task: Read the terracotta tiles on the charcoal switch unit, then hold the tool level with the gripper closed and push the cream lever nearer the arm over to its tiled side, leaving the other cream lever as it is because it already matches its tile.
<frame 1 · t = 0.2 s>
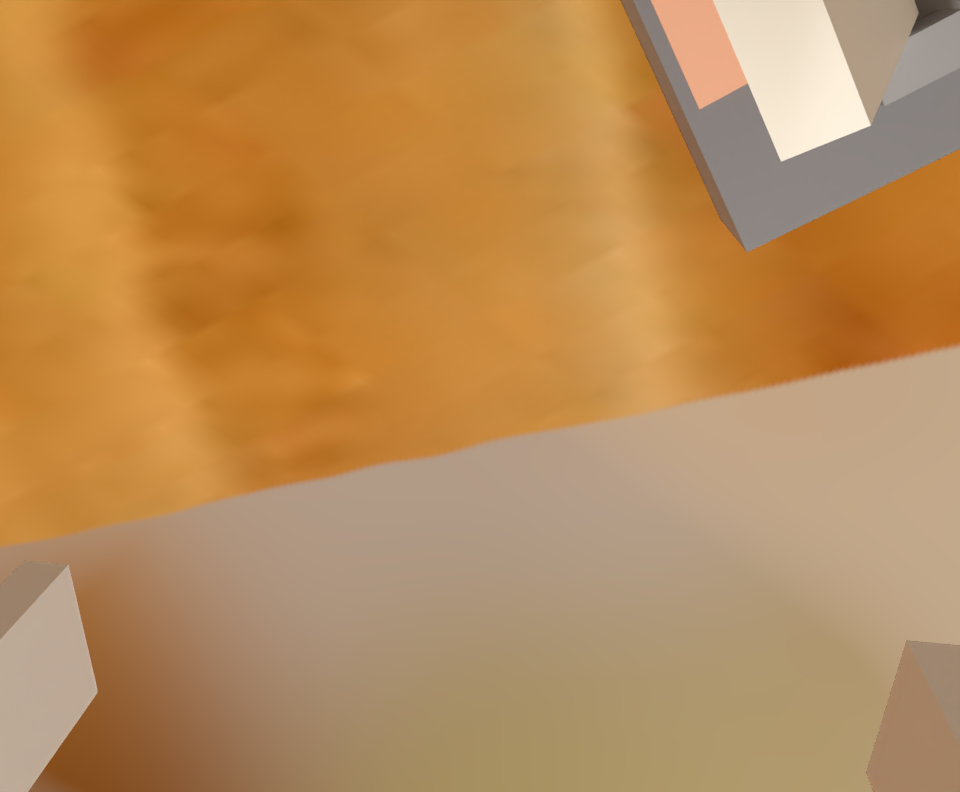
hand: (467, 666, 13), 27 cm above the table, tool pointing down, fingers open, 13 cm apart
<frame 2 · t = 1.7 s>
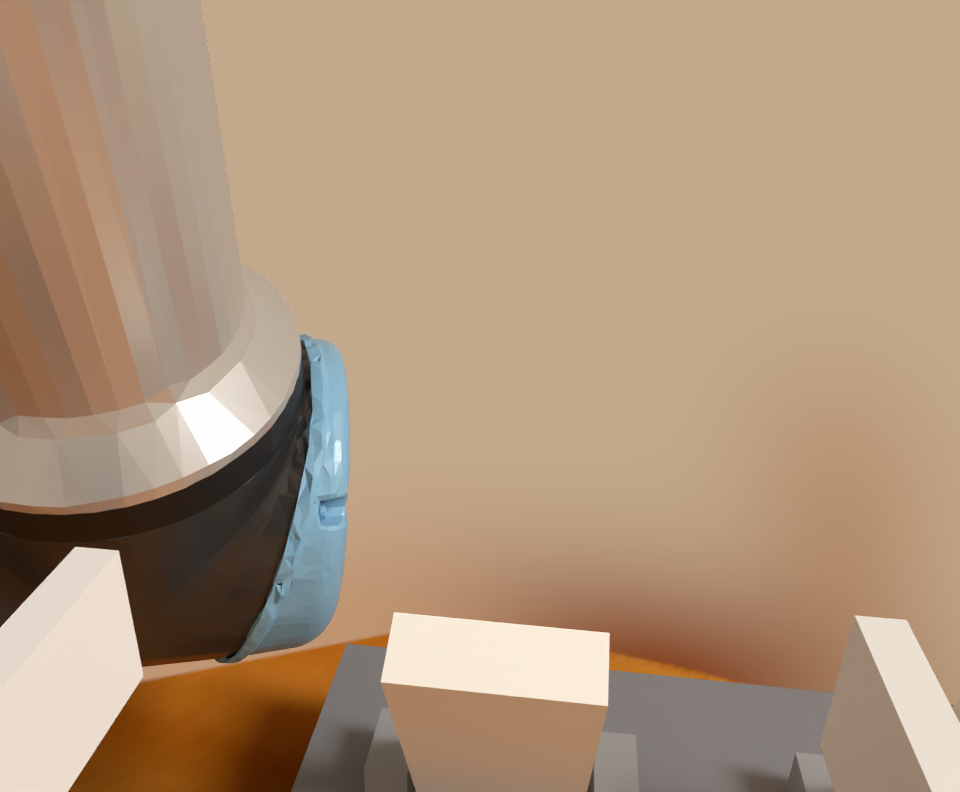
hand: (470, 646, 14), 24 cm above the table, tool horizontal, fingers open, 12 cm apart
lever a: (499, 730, 27), point 12 cm above the table, hinge at -25.0°
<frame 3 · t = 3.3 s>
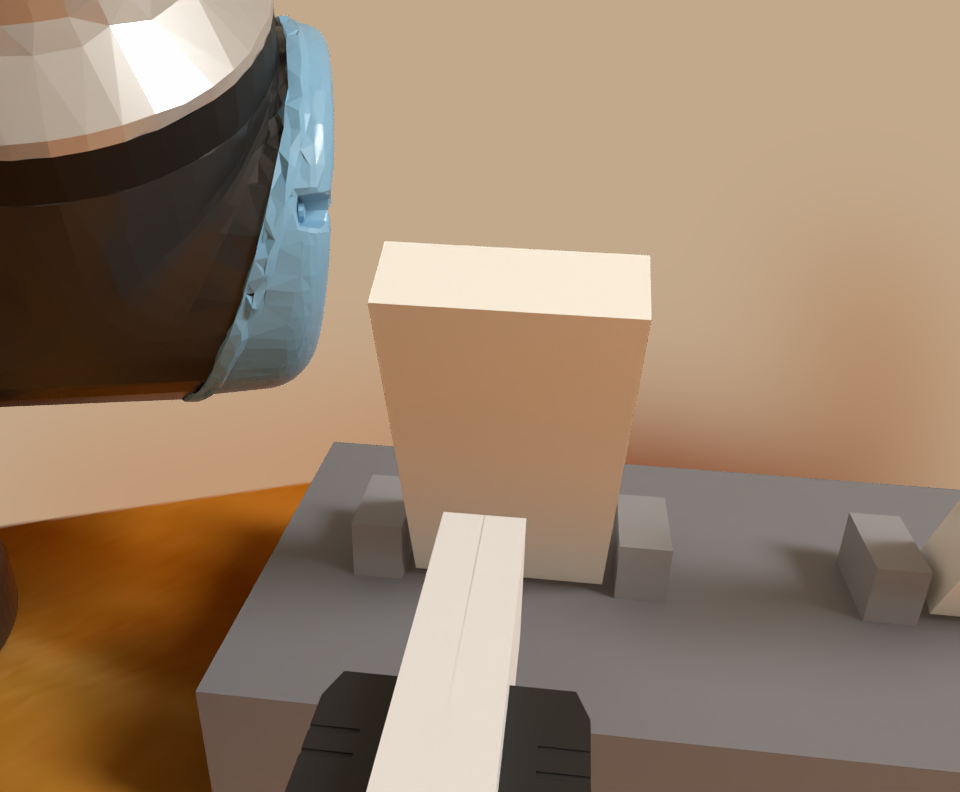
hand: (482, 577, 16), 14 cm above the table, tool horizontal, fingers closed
switch unit: (726, 715, 30), on the table
lever a: (511, 440, 23), point 12 cm above the table, hinge at -25.0°
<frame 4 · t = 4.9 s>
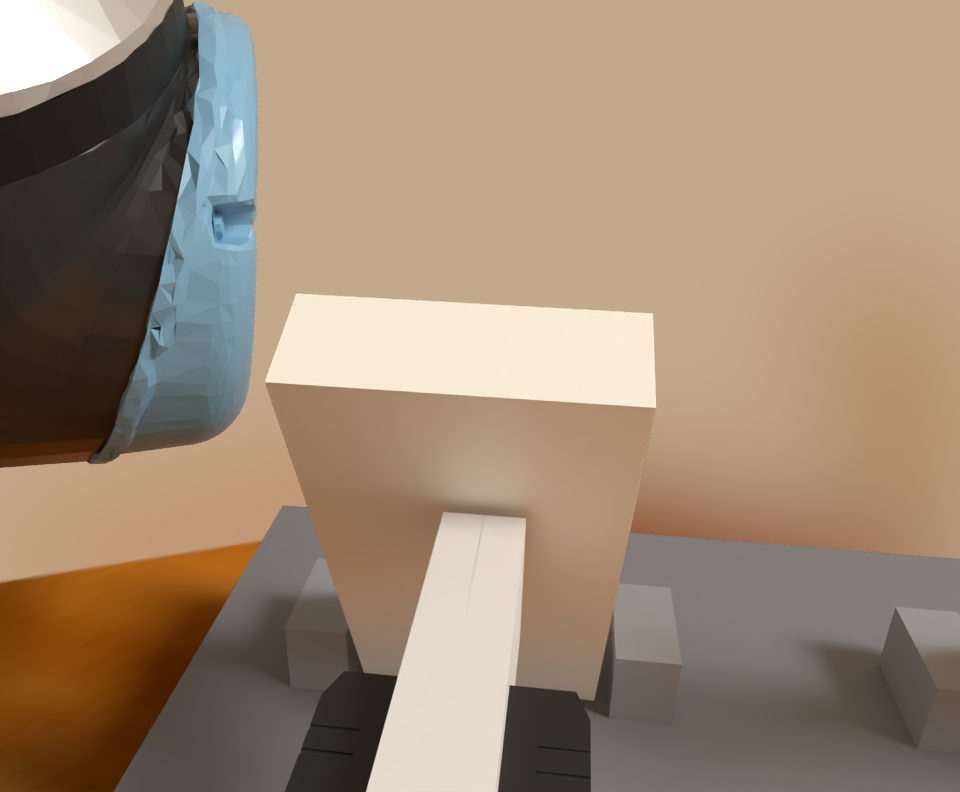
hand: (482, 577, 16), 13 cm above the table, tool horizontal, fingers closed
lever a: (475, 538, 18), point 12 cm above the table, hinge at -24.9°, touching gripper
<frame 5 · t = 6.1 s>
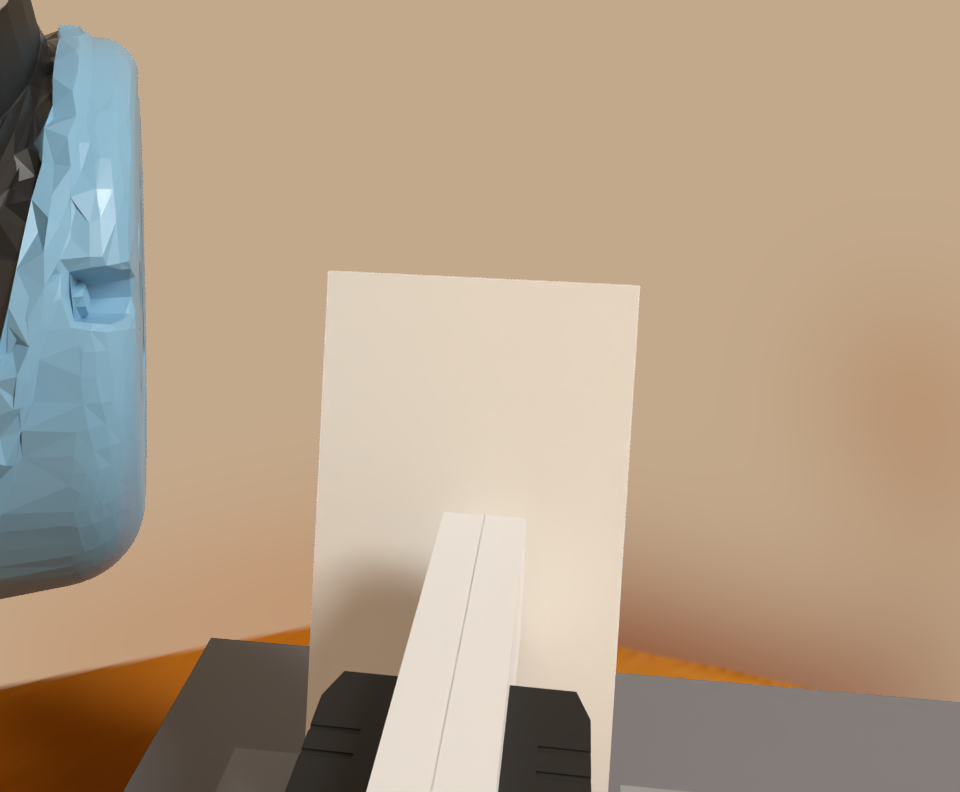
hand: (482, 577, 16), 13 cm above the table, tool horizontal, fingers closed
lever a: (469, 575, 17), point 12 cm above the table, hinge at 22.9°, touching gripper
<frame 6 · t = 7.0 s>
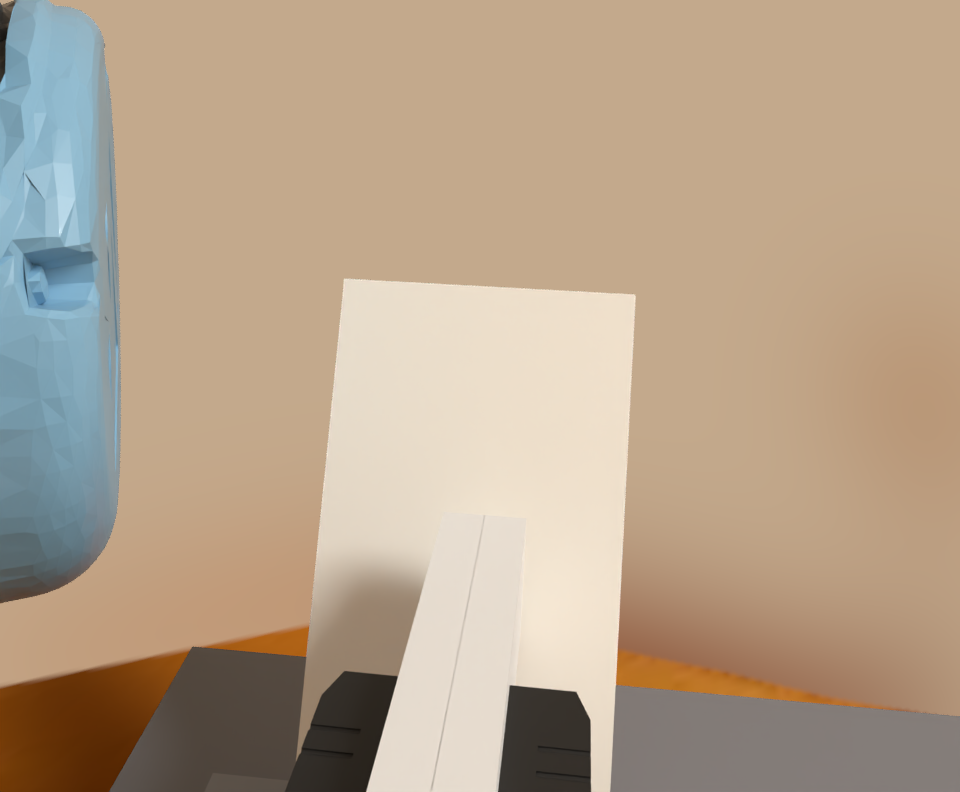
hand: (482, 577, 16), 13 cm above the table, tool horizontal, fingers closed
lever a: (469, 580, 17), point 12 cm above the table, hinge at 34.1°, touching gripper
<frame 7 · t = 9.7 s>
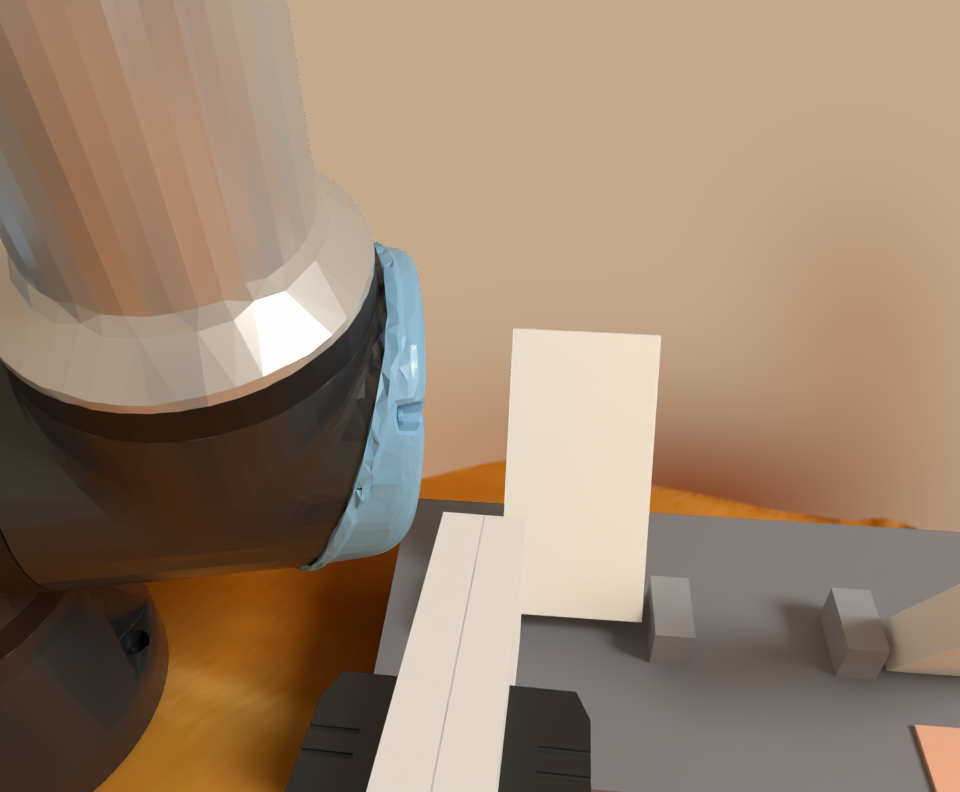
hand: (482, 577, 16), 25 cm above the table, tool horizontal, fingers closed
switch unit: (729, 714, 40), on the table
lever a: (577, 472, 36), point 12 cm above the table, hinge at 34.2°
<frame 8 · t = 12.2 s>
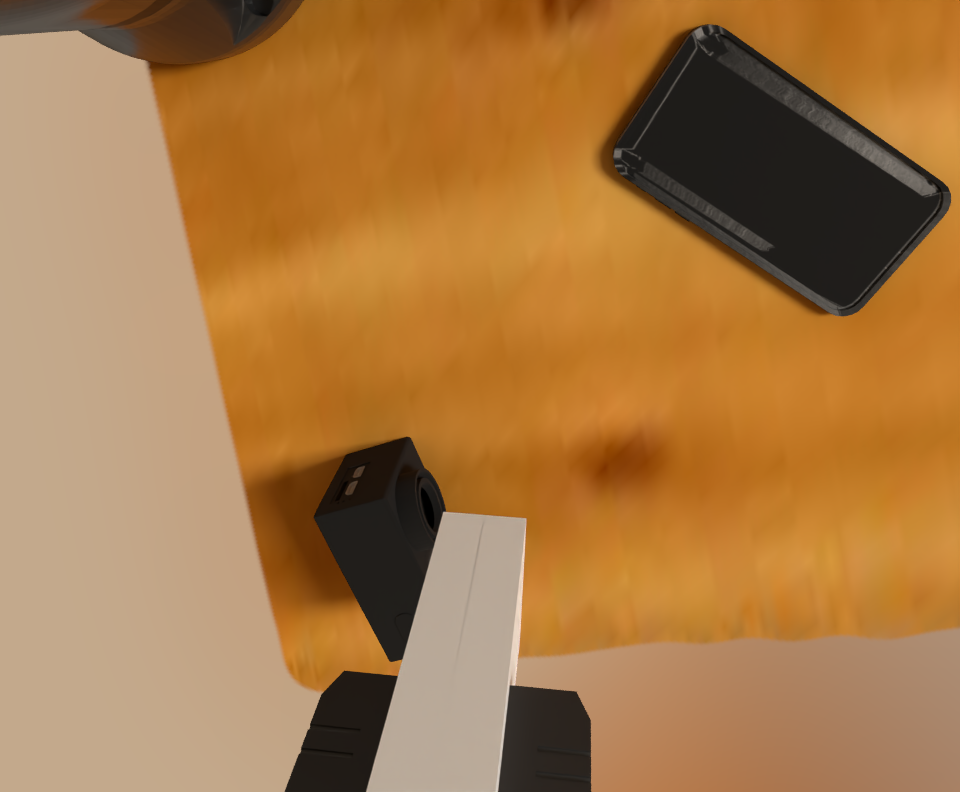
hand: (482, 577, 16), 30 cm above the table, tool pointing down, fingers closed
digital camera: (420, 511, 52), on the table
phone: (774, 175, 41), on the table
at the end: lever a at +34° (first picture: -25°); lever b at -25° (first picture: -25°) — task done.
